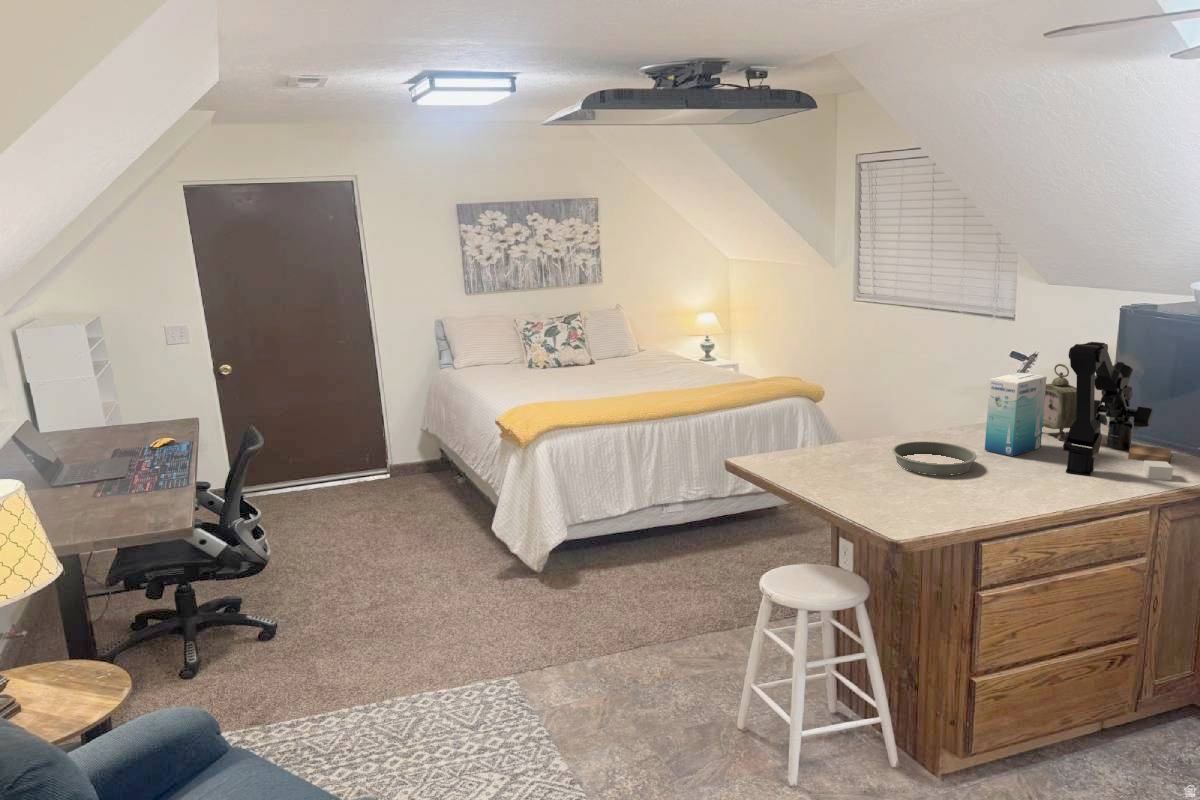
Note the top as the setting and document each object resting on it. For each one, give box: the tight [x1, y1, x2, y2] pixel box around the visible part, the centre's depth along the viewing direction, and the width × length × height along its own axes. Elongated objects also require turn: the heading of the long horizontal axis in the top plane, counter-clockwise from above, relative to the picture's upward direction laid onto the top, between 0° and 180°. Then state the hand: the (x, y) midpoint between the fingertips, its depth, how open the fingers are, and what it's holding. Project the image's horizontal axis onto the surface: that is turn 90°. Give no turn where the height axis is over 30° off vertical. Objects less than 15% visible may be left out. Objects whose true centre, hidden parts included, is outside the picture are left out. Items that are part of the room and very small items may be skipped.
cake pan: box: [891, 441, 978, 476], centre depth 278 cm, size 25×25×4 cm
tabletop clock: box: [1042, 363, 1077, 441], centre depth 304 cm, size 14×9×25 cm, turn 10°
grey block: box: [1142, 460, 1174, 481], centre depth 262 cm, size 6×6×4 cm
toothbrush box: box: [984, 372, 1047, 457], centre depth 290 cm, size 18×10×24 cm, turn 126°
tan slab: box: [1127, 443, 1172, 465], centre depth 281 cm, size 11×11×2 cm
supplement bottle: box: [1106, 416, 1134, 451], centre depth 290 cm, size 7×7×12 cm
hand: (1121, 426), depth 291 cm, fingers open, 9 cm apart
